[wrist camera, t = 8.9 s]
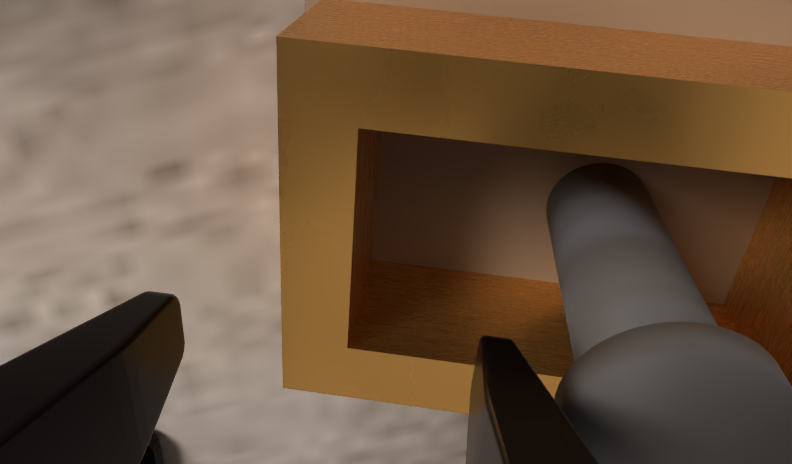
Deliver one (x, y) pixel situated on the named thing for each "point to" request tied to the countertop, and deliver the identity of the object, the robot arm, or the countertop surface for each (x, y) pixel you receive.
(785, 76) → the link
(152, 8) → the countertop surface
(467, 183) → the keeper board
